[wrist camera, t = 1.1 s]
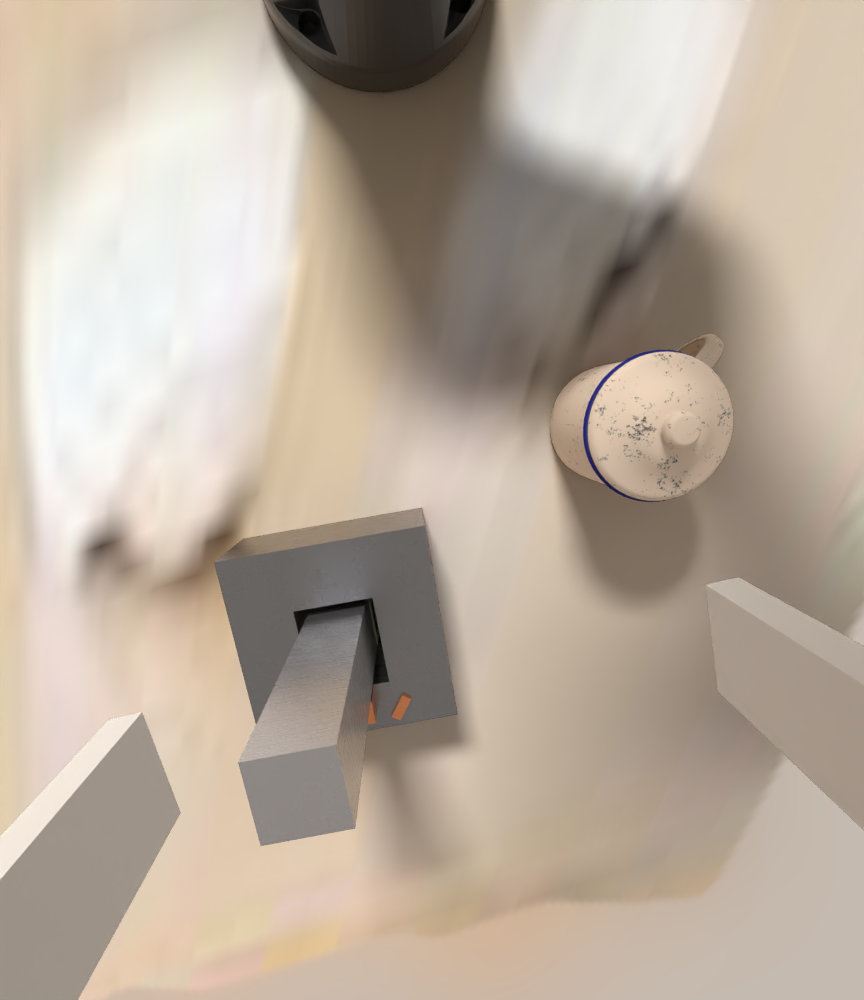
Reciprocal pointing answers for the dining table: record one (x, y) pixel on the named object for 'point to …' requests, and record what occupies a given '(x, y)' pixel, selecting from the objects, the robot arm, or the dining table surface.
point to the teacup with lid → (647, 421)
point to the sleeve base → (338, 579)
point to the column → (314, 728)
